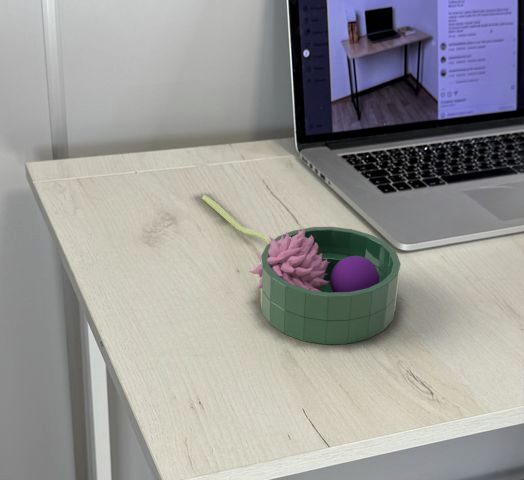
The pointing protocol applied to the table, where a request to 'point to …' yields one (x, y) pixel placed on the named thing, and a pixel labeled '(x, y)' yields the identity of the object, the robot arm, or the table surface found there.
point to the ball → (353, 274)
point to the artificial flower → (287, 255)
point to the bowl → (333, 303)
